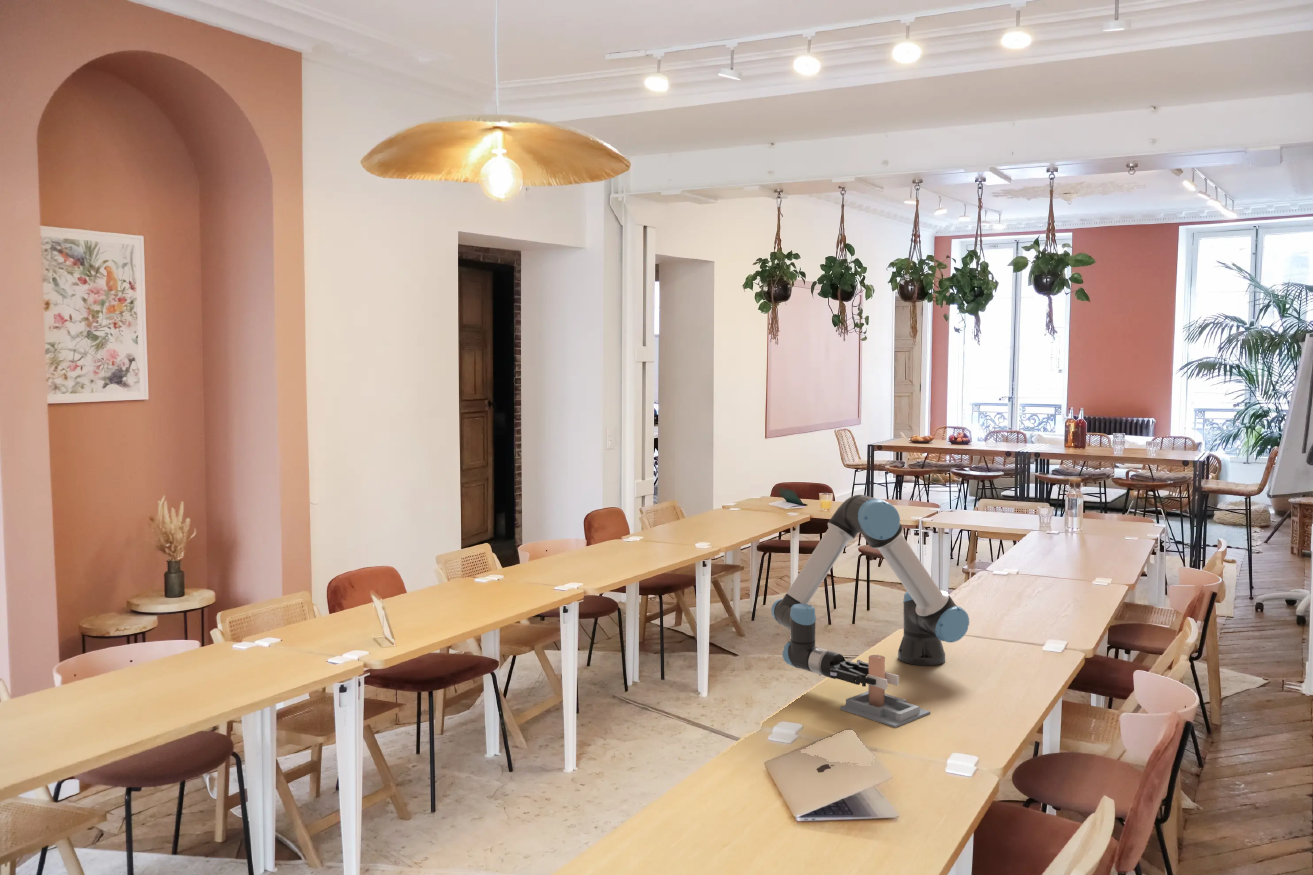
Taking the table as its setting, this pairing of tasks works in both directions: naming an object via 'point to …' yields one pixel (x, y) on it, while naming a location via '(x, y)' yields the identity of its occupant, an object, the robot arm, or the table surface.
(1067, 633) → the table surface
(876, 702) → the tall peach cylinder
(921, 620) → the robot arm
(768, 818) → the table surface
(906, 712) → the keyhole board
